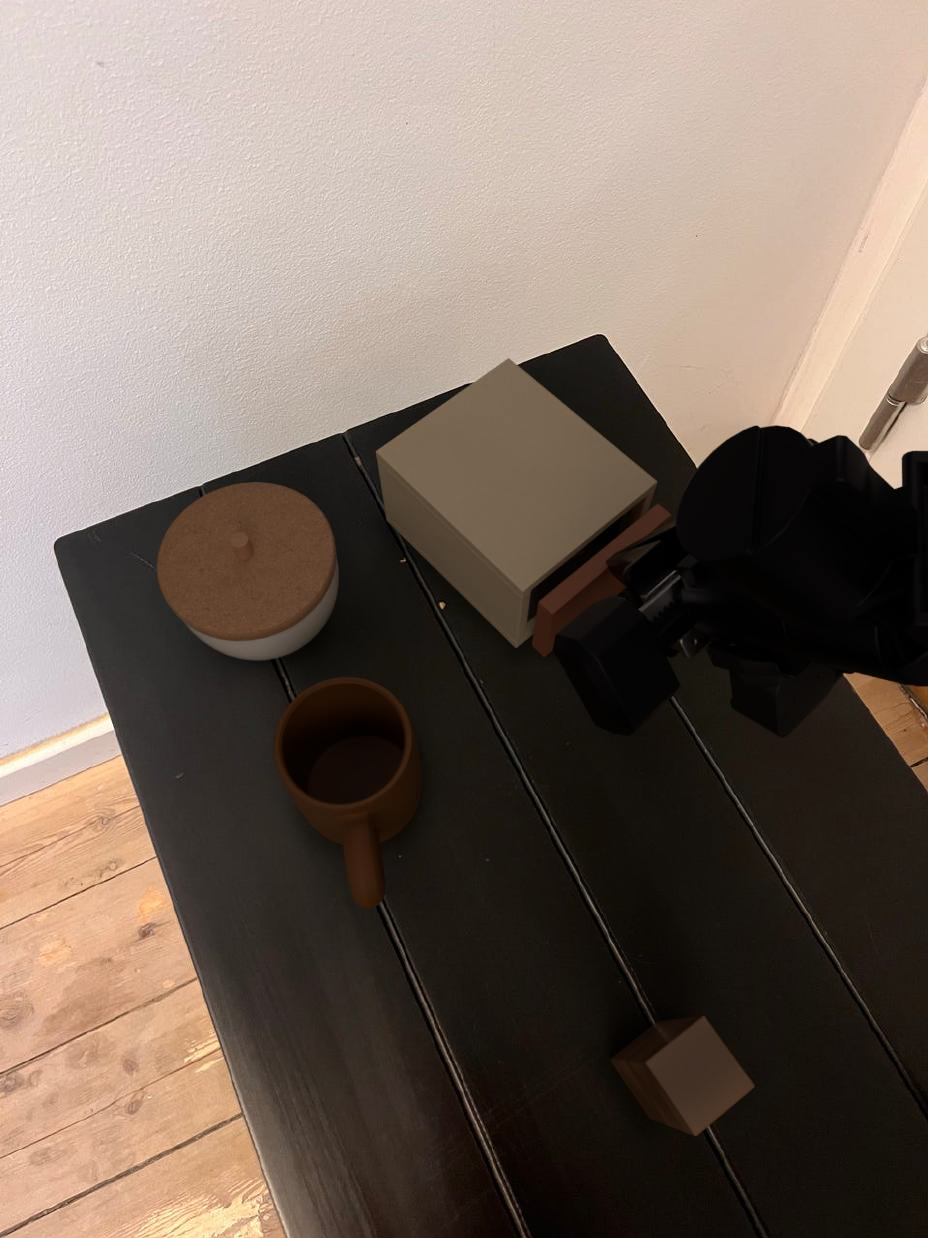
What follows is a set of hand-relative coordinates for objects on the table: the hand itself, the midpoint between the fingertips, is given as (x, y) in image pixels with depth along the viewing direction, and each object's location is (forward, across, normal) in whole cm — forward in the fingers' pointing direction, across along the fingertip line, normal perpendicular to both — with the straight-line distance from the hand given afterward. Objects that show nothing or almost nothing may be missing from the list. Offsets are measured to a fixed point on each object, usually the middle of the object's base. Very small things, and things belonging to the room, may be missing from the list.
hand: (612, 564), depth 53 cm
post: (-10, -17, -20) cm, 28 cm away
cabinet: (+11, 0, +1) cm, 11 cm away
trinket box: (+16, -16, +5) cm, 23 cm away
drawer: (+7, 0, -1) cm, 8 cm away
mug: (+5, -20, -6) cm, 22 cm away
